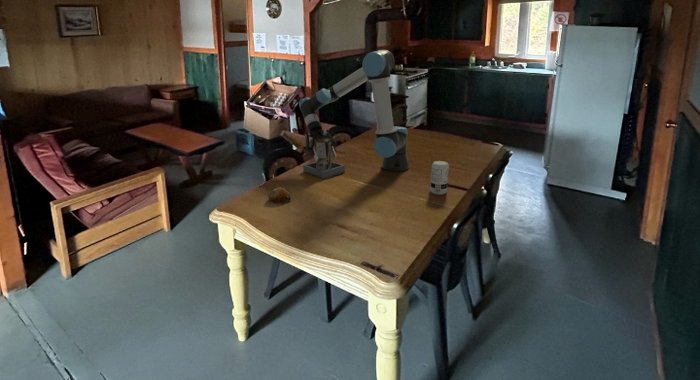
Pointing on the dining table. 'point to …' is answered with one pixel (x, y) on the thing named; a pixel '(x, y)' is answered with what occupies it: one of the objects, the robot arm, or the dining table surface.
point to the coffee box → (323, 154)
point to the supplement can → (439, 177)
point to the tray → (333, 171)
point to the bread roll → (279, 196)
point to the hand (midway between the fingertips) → (326, 158)
